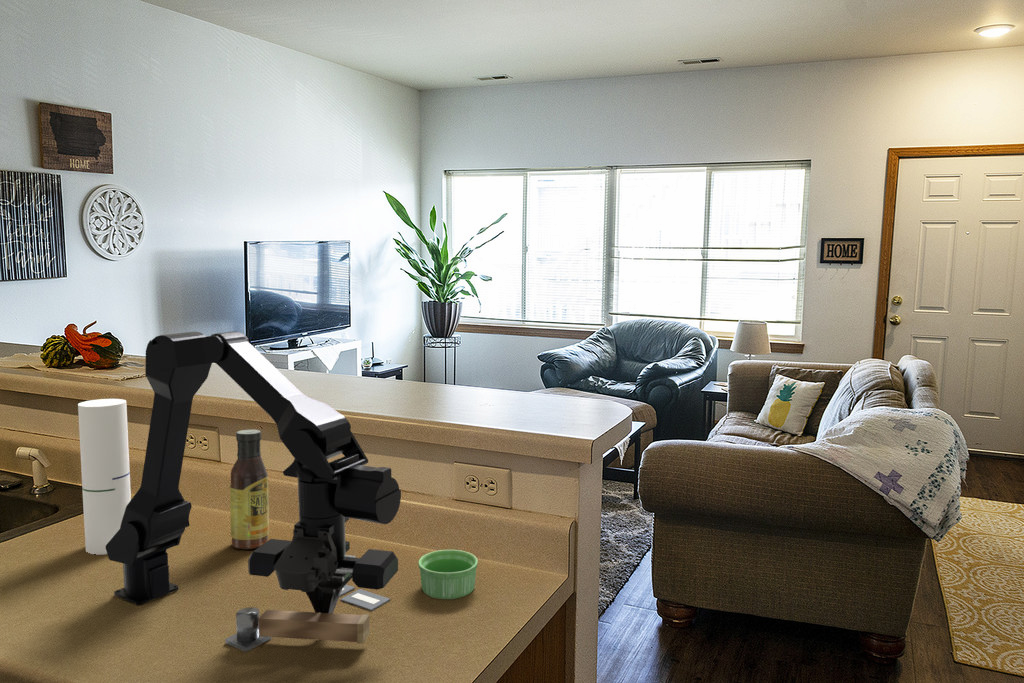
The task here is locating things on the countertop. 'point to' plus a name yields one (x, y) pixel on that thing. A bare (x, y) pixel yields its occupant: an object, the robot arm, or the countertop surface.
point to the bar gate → (314, 626)
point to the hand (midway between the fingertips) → (325, 624)
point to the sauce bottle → (249, 493)
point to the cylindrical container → (103, 469)
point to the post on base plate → (247, 630)
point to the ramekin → (448, 573)
